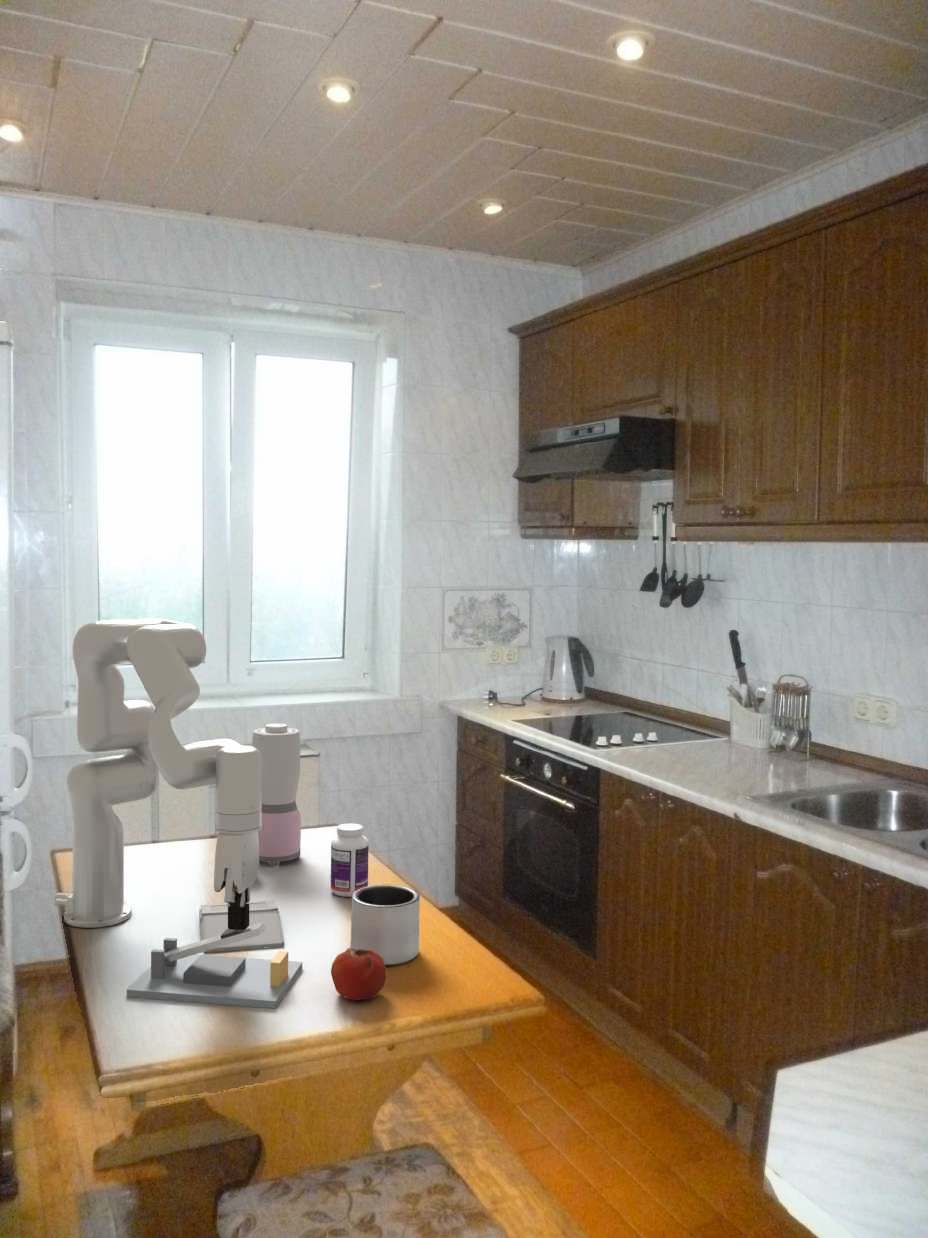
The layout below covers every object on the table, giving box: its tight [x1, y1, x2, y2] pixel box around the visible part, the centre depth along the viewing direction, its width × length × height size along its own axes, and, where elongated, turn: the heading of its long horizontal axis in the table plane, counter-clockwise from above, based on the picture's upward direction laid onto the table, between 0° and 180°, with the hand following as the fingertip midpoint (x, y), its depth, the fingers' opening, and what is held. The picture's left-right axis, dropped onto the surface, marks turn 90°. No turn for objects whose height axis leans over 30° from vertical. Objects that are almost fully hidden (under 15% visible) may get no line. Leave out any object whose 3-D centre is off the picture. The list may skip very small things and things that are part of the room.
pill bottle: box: [330, 822, 370, 898], centre depth 223 cm, size 8×8×14 cm
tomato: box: [330, 947, 387, 1001], centre depth 172 cm, size 9×9×8 cm
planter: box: [349, 884, 421, 967], centre depth 189 cm, size 12×12×11 cm
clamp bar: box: [165, 922, 266, 963], centre depth 175 cm, size 19×4×2 cm, turn 83°
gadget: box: [198, 900, 286, 953], centre depth 201 cm, size 23×15×4 cm, turn 16°
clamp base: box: [126, 937, 303, 1009], centre depth 176 cm, size 25×16×6 cm, turn 83°
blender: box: [251, 723, 302, 868], centre depth 245 cm, size 16×12×32 cm
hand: (238, 927), depth 174 cm, fingers closed
